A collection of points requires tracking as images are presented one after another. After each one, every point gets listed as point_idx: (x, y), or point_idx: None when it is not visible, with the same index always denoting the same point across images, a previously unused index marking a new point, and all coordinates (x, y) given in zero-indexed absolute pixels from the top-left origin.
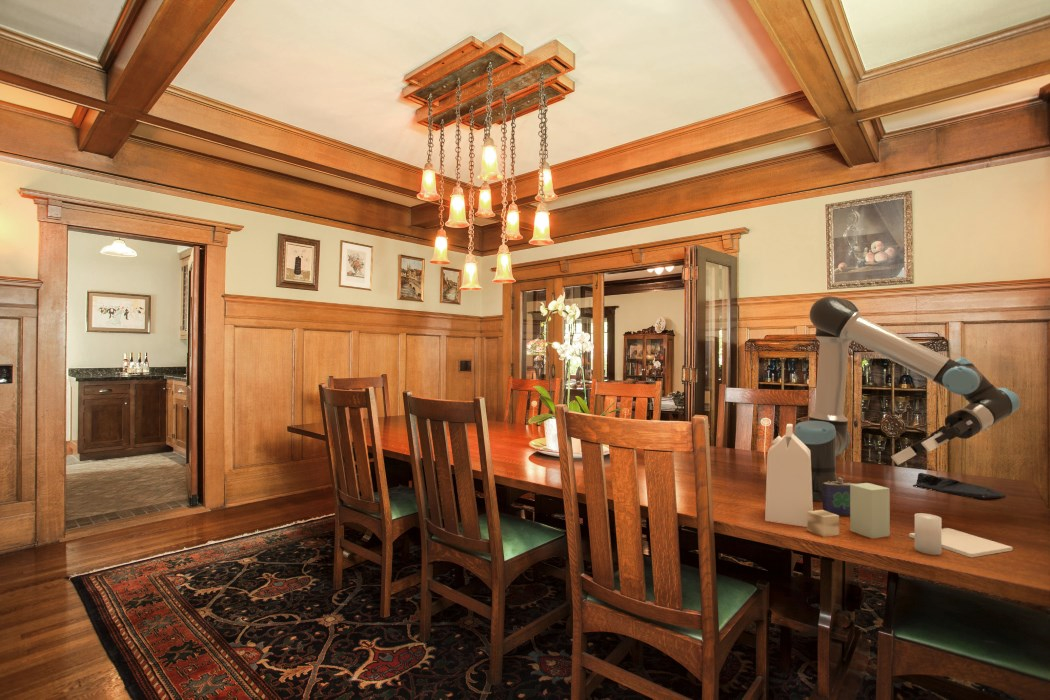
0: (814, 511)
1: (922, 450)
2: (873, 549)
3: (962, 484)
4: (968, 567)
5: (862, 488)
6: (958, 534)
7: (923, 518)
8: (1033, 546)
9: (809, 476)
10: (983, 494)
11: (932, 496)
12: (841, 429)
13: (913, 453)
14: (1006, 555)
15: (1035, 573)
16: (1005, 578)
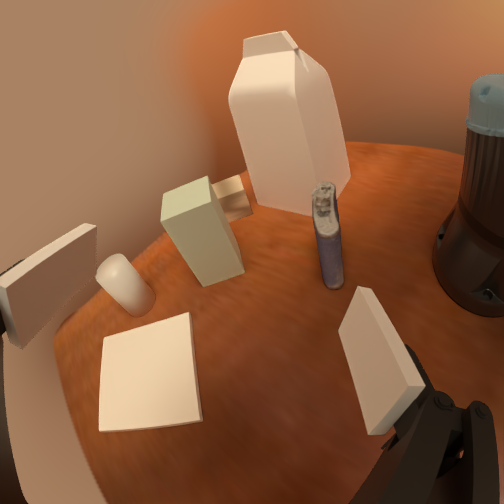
0: (237, 180)
1: (369, 477)
2: (168, 242)
3: None
4: (96, 310)
5: (182, 187)
6: (162, 401)
7: (109, 257)
8: (108, 490)
9: (238, 130)
10: None
11: None
12: None
13: (373, 412)
14: (95, 399)
15: (61, 370)
16: (70, 324)
